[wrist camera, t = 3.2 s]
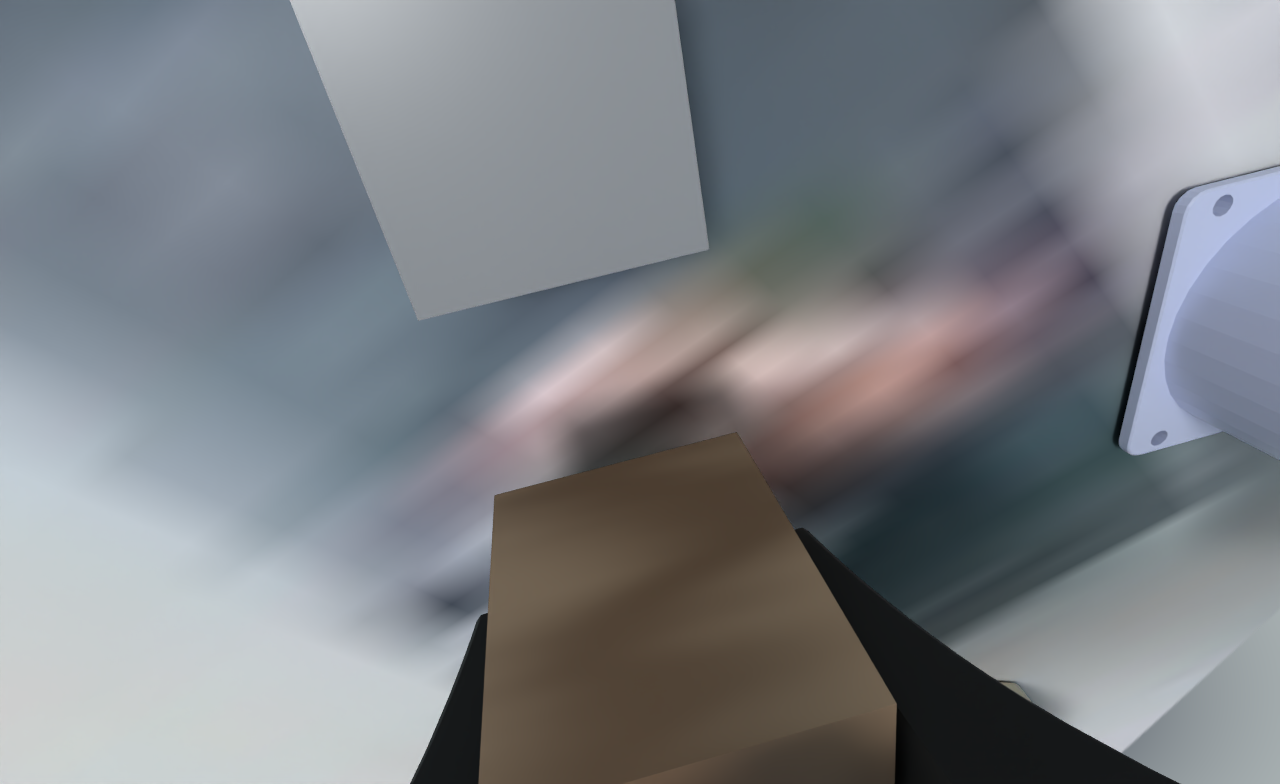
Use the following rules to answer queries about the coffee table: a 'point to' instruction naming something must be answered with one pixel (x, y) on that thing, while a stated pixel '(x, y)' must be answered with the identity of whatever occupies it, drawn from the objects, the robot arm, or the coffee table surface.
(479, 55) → the grey cube
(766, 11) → the coffee table surface
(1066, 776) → the robot arm
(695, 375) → the coffee table surface
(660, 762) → the walnut block
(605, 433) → the coffee table surface
